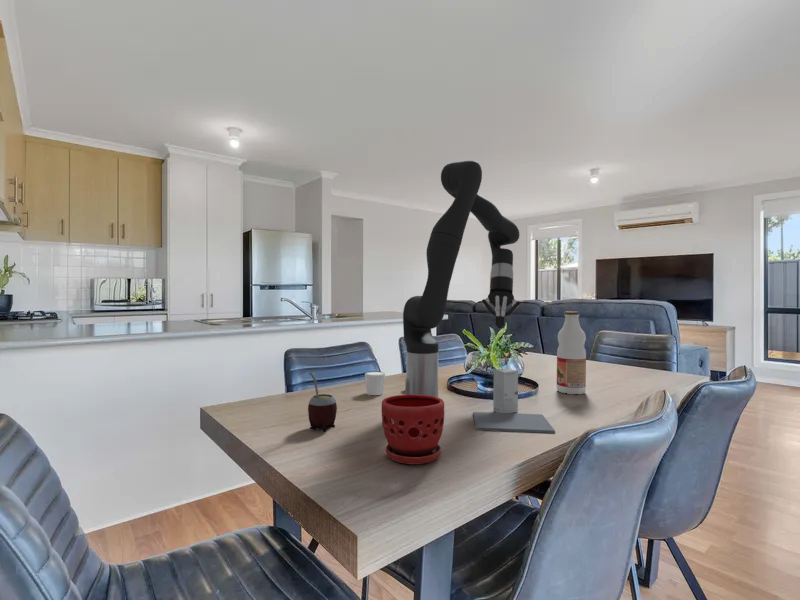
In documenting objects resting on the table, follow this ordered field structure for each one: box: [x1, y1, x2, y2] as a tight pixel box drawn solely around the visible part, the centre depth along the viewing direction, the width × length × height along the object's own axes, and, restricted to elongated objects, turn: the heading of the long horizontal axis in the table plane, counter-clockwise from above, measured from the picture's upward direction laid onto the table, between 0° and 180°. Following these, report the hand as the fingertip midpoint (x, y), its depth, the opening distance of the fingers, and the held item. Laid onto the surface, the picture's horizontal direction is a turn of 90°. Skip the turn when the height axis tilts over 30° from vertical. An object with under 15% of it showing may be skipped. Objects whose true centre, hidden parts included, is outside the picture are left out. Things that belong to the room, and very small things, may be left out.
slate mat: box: [472, 411, 556, 434], centre depth 113 cm, size 19×14×1 cm
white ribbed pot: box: [364, 371, 386, 396], centre depth 144 cm, size 7×7×7 cm
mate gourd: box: [307, 372, 338, 433], centre depth 107 cm, size 8×8×15 cm
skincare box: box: [492, 367, 519, 413], centre depth 124 cm, size 6×4×12 cm
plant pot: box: [381, 394, 445, 465], centre depth 90 cm, size 13×13×12 cm
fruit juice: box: [556, 310, 587, 395], centre depth 148 cm, size 9×9×28 cm
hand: (499, 328), depth 140 cm, fingers closed
